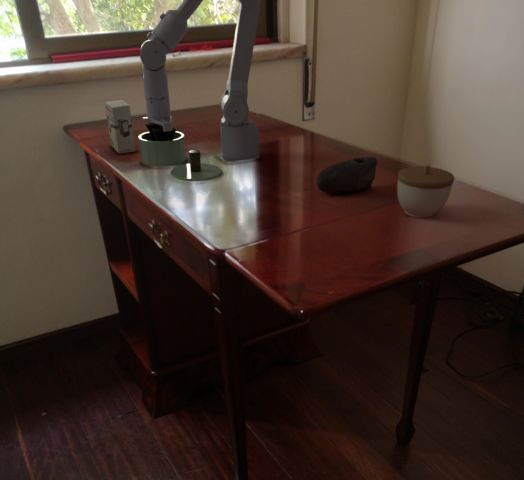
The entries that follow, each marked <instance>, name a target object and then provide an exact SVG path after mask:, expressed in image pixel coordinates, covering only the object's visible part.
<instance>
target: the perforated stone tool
mask: <svg viewBox="0 0 524 480" xmlns="http://www.w3.org/2000/svg"><path fill="white" fill-rule="evenodd" d="M377 165H378V159H377V158H376V157H375V156H366V157H364V156H363V157H355V158H350V159H346V160H343V161H340V162H339V161H338V162H337V163H334V164H331V165H329V166H327V167H326V168H324V169H323V170H322V171H320V172H319V174H318V176H317V179H316V187H317V188H318V190H320V192H323V193H325V194H347V193H354V192H355V193H356V192H359V191H362V190H368V189H371V188H372V185H373V182H374V180H375V177H376V171H377V170H376V169H377Z"/></svg>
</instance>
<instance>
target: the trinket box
mask: <svg viewBox="0 0 524 480" xmlns="http://www.w3.org/2000/svg"><path fill="white" fill-rule="evenodd" d="M454 181H455V176H454V175H453V173H451V172H449V171H448V170H444V169H443V168H438V167H432V166H431V165H427V164H426V165H424V166H408V167H405V168H402V169H400V170H399V171H398V173H397V182H396V183H397V185H396V197H397V201H398V204H399V205H400V206H401V208H402V209H403V210H404V211H403V212H404V213H405V215H408V216H410V217H413V218H418V219H419V218H423V219H426V218H431V217H433V216H435V214H437V213H438V212H439V211H440V210H442V208H444V206H446V204H447V202H448V200H449V197H450V195H451V191H452V188H453V184H454Z"/></svg>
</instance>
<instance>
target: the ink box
mask: <svg viewBox="0 0 524 480" xmlns="http://www.w3.org/2000/svg"><path fill="white" fill-rule="evenodd" d="M104 105H105V106H104V107H105V114H106V121H107V128H108V134H109V140H110V146H111V148H113V150H115V151H116V153H118V154H126V153H134V152H136V144H135V137H134V129H133V121H132V114H131V106H130V104H128V103H127V102H126V101H124V100H123V99H117V100H109V101H104Z"/></svg>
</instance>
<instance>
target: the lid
mask: <svg viewBox="0 0 524 480" xmlns="http://www.w3.org/2000/svg"><path fill="white" fill-rule="evenodd" d="M188 158H189V163H184V164H180V165H177V166H175V167H173V168H171V169H170V171H169V173H170V175H171V177H172V178H175V179H177V180H181V181H188V182H199V181H208V180H211V179H215V178H217V177H219V176H220V175H221V173H222V169H221V167H219V166H218V165H215V164H212V163H205V162H203V163H202V162H201V161H202V160H201V151H200V150H198V149H191V150H189V151H188Z"/></svg>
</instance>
